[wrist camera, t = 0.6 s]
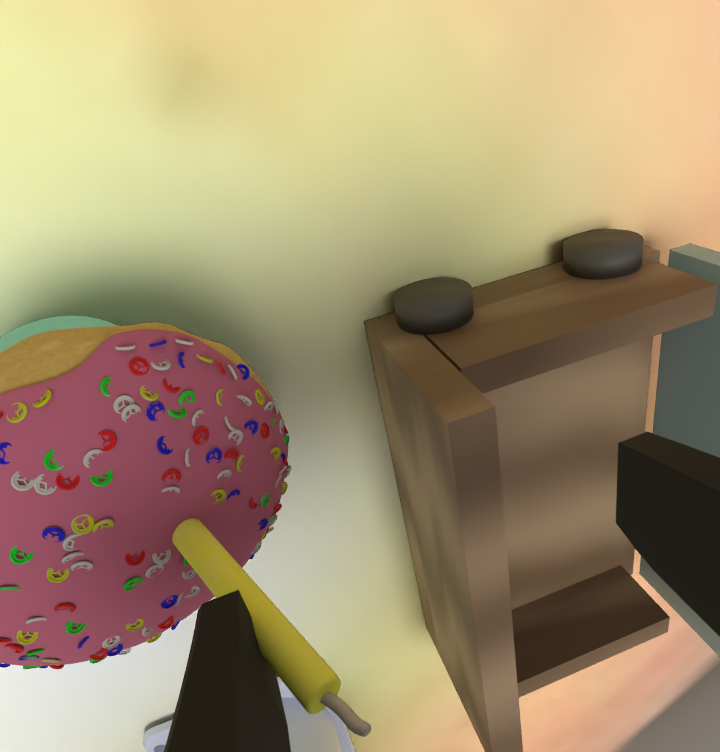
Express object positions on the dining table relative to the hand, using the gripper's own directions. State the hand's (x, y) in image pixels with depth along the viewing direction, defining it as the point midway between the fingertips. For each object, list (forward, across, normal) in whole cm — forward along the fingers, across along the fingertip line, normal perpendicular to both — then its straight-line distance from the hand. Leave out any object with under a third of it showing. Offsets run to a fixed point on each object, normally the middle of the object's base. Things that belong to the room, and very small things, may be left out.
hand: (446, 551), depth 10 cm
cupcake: (+9, +7, -1) cm, 12 cm away
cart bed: (+10, -6, +8) cm, 14 cm away
